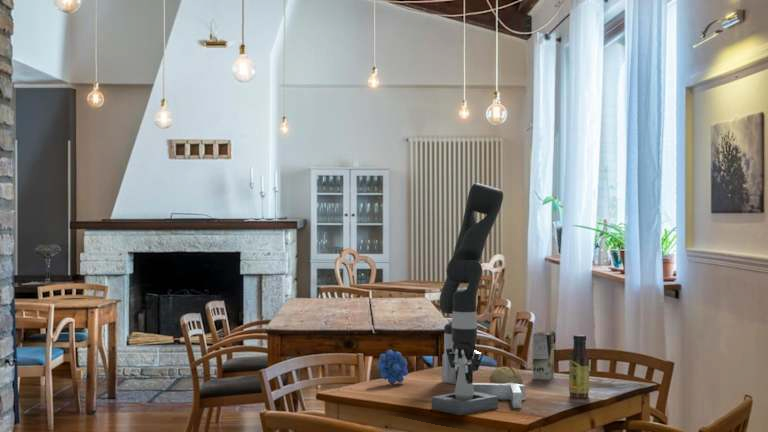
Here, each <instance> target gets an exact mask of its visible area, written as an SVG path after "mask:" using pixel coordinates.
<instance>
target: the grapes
mask: <svg viewBox="0 0 768 432" xmlns="http://www.w3.org/2000/svg"><path fill="white" fill-rule="evenodd" d="M378 359H379V362H378V363H377V365H376V367H377V369H378V371H380V378H381V379H382V380H387V382H388V383H389V384H391V385H394V384H396V382H397V383H400V384H401V383H403V381H404V377H406V376H408V374H409V371H408V368H406V367H408V366H407V365H408V361H407V359H405V358H403V355H402V353H401V352H400V351H393V350H392V349H387V350H386V351H385V353H381V354H380V355H379V358H378Z"/></svg>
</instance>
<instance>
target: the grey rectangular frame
mask: <svg viewBox="0 0 768 432" xmlns="http://www.w3.org/2000/svg"><path fill="white" fill-rule="evenodd" d="M430 404H431V405H430V407H431V409H432V410H435V411H440V412H443V413H444V412H445V413H447V414H453V415H456V416H464V415H468V414H474V413H480V412H485V411H490V410H494V409H498V408H499V399H498V396H494V395H489V394H484V393H479V392H474V396H473V398H472V399H471V400H465V401H464V400H460V399H456V396H455V392H452V393H447V394H446V393H445V394H440V395H435V396H431V403H430Z"/></svg>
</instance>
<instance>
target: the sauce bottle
mask: <svg viewBox="0 0 768 432" xmlns="http://www.w3.org/2000/svg"><path fill="white" fill-rule="evenodd" d="M572 339H573V348H572V350H571V351H572V352H571V354H570V357H569V367H568V369H569V371H568V373H569V374H568V375H569V376H568V380H569V381H568V382H569V383H568V391H569V396H570V397H572V398H574V397H575V398H576V399H584V398H585V397H587V398H588V397H589V394H590V393H589V392H590V356H589V354H588V352H587V350H586V349H587V348H586V346H587V345H586V342H587V335H586V334H580V333H578V334H577V333H576V334H573V337H572ZM585 399H586V398H585Z"/></svg>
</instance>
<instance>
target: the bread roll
mask: <svg viewBox="0 0 768 432" xmlns="http://www.w3.org/2000/svg"><path fill="white" fill-rule="evenodd" d="M489 382H490V383H493V384H506V383H516V384H521V385H524V384H523V377H522V374H521V372H520V371H519V370H518V369H517V368H515V367H513V366H501V367H497V368H495V369H493V370H492V372H491V374H490V376H489Z"/></svg>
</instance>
